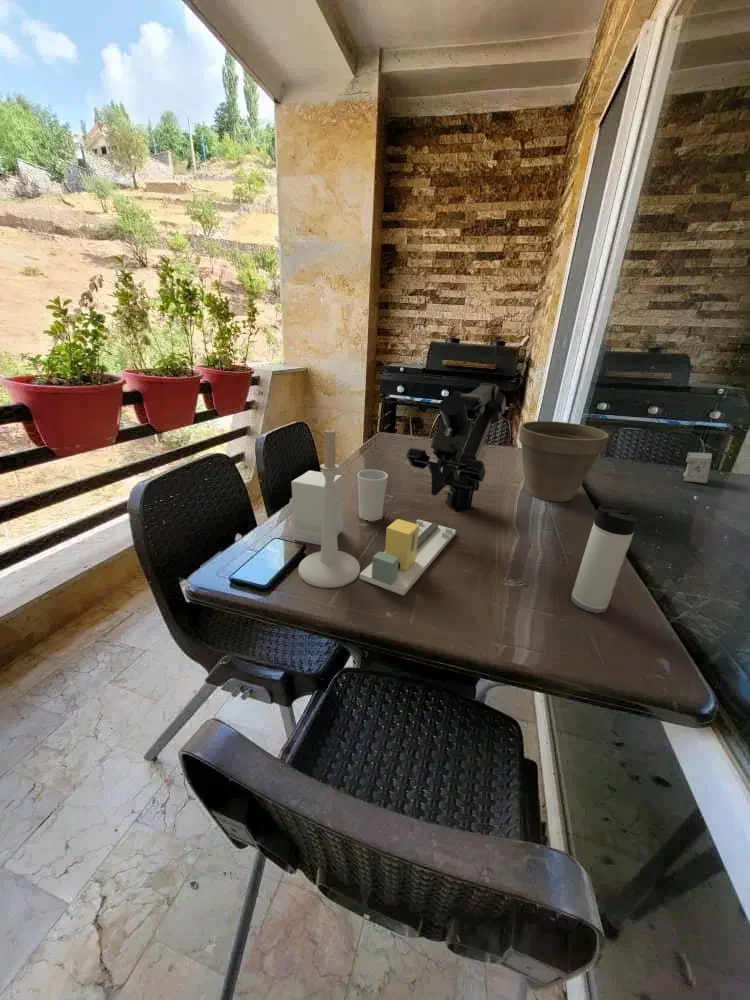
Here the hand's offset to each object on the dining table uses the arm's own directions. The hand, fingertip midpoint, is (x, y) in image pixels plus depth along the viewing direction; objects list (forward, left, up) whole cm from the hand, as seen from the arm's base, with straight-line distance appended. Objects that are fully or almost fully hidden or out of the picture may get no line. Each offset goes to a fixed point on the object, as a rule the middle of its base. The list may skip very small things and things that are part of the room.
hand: (433, 494), depth 92 cm
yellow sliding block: (+12, +10, -10) cm, 19 cm away
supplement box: (+26, -8, -12) cm, 29 cm away
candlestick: (+27, +7, -12) cm, 30 cm away
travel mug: (-18, +32, -12) cm, 38 cm away
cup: (+10, -15, -12) cm, 22 cm away
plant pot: (-53, -17, -12) cm, 57 cm away
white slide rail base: (+7, +6, -12) cm, 15 cm away
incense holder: (-121, -14, -12) cm, 122 cm away
